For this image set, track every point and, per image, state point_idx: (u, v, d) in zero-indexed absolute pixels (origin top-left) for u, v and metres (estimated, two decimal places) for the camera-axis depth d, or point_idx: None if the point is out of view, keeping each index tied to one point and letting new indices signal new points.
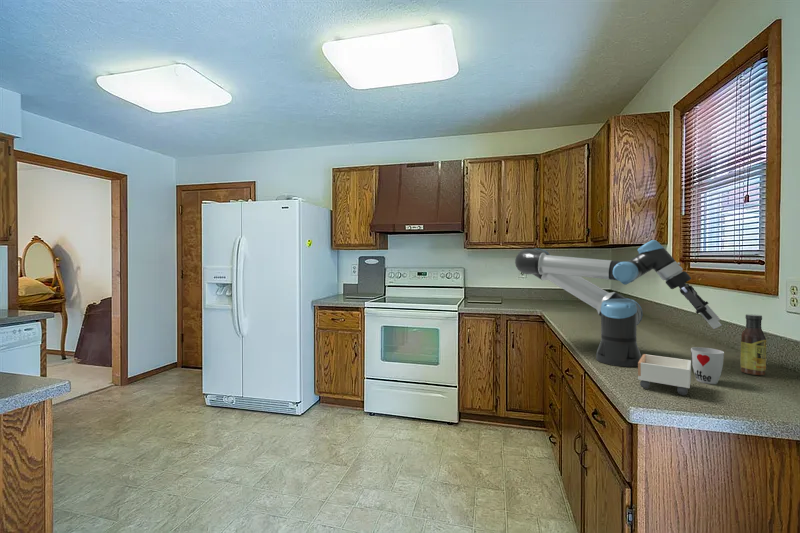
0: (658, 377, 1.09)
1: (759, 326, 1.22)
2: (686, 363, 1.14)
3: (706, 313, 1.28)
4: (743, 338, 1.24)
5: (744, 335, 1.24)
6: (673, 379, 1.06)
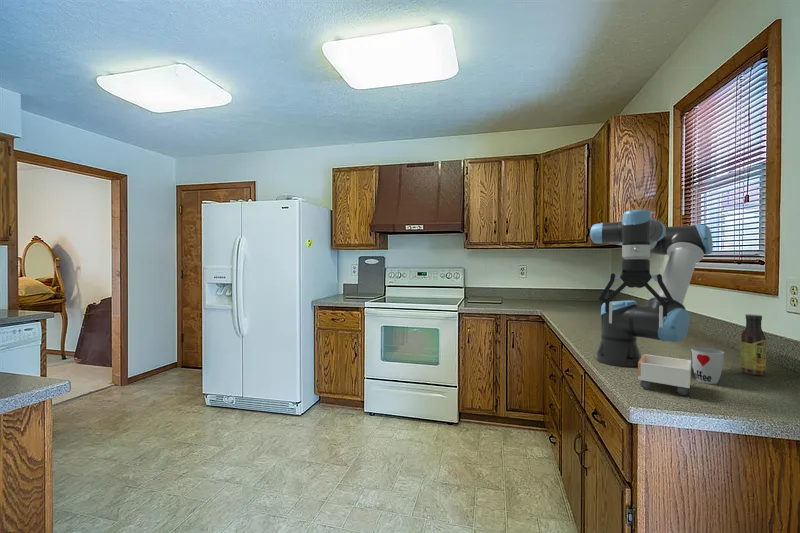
0: (658, 377, 1.09)
1: (759, 326, 1.22)
2: (686, 363, 1.14)
3: (605, 305, 1.22)
4: (743, 338, 1.24)
5: (744, 335, 1.24)
6: (673, 379, 1.06)
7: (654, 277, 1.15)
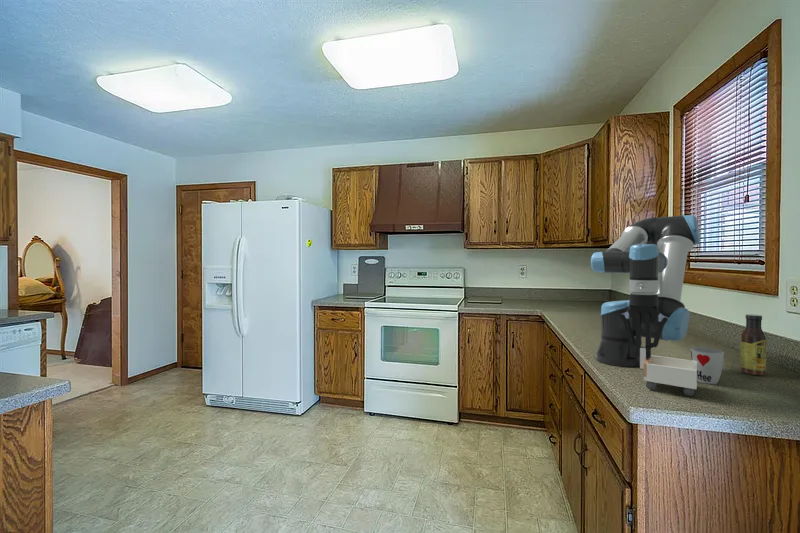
0: (664, 378, 1.08)
1: (759, 326, 1.22)
2: (692, 364, 1.13)
3: (636, 349, 1.17)
4: (743, 338, 1.24)
5: (744, 335, 1.24)
6: (679, 380, 1.05)
7: (660, 317, 1.12)
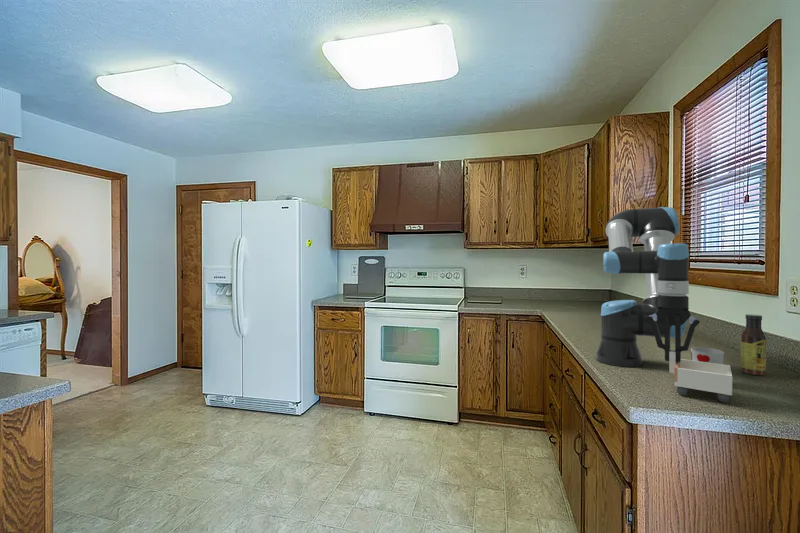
0: (697, 383, 1.03)
1: (759, 326, 1.22)
2: (724, 368, 1.08)
3: (665, 353, 1.12)
4: (743, 338, 1.24)
5: (744, 335, 1.24)
6: (713, 385, 1.01)
7: (691, 319, 1.08)
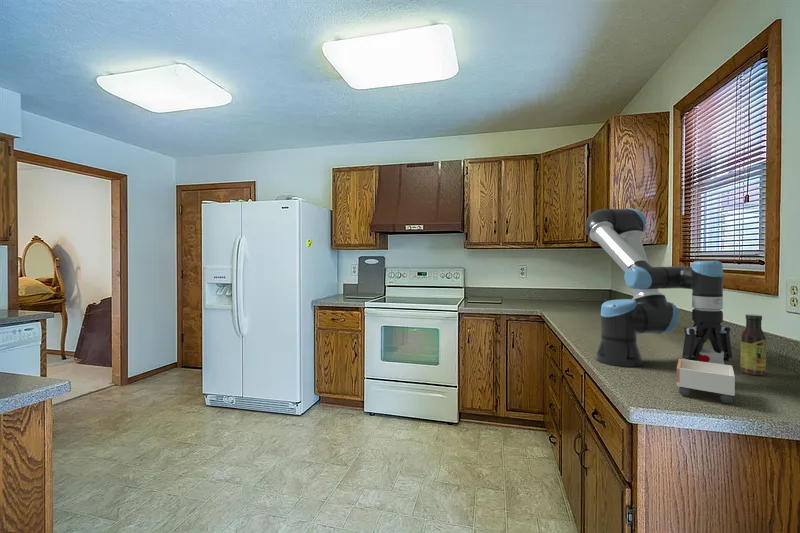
0: (699, 384, 1.03)
1: (759, 326, 1.22)
2: (727, 369, 1.08)
3: None
4: (743, 338, 1.24)
5: (744, 335, 1.24)
6: (716, 386, 1.00)
7: (722, 329, 1.17)
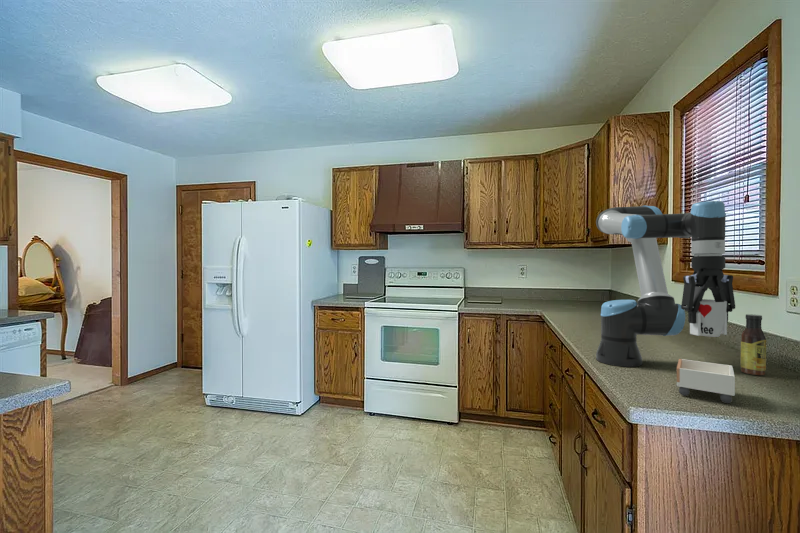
0: (699, 384, 1.03)
1: (759, 326, 1.22)
2: (727, 369, 1.08)
3: (691, 315, 1.06)
4: (743, 338, 1.24)
5: (744, 335, 1.24)
6: (716, 386, 1.00)
7: (724, 277, 1.06)
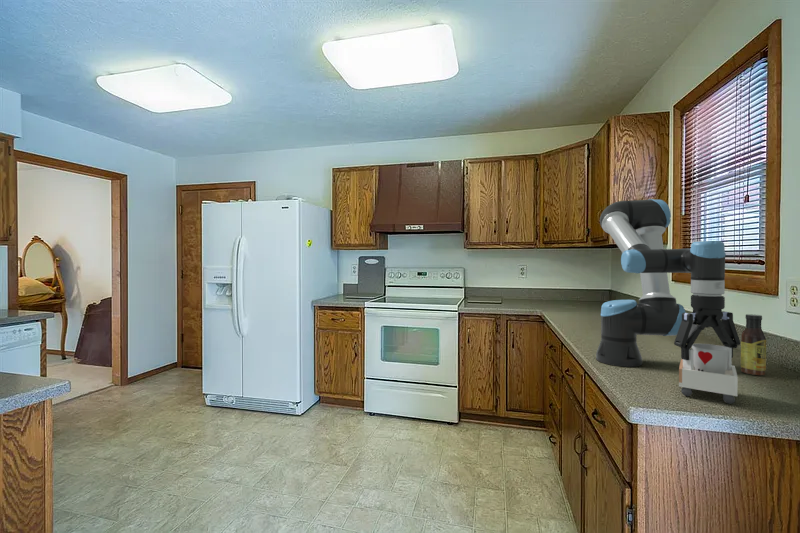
0: (702, 384, 1.02)
1: (759, 326, 1.22)
2: None
3: (684, 352, 1.05)
4: (743, 338, 1.24)
5: (744, 335, 1.24)
6: (719, 386, 1.00)
7: (724, 315, 1.06)
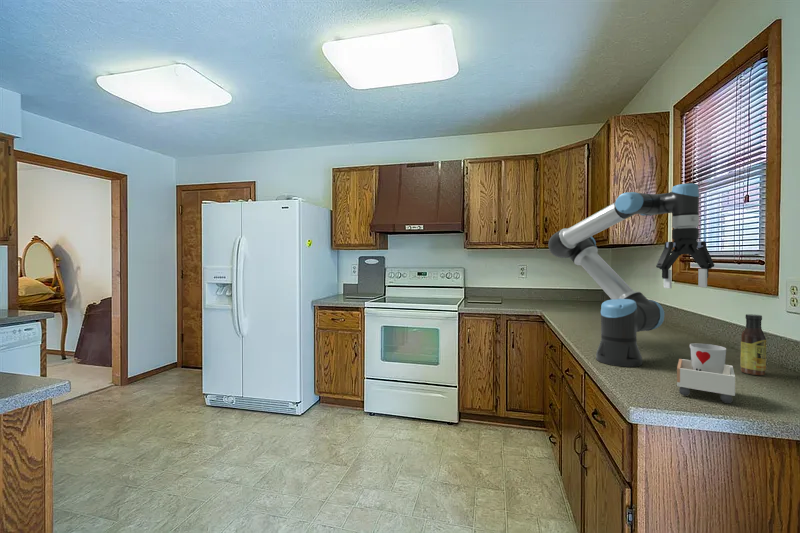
0: (699, 384, 1.03)
1: (759, 326, 1.22)
2: (727, 369, 1.08)
3: (664, 272, 1.30)
4: (743, 338, 1.24)
5: (744, 335, 1.24)
6: (716, 386, 1.00)
7: (699, 244, 1.31)
